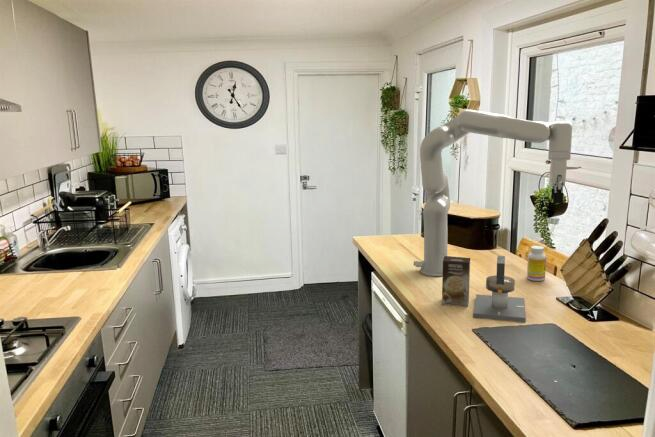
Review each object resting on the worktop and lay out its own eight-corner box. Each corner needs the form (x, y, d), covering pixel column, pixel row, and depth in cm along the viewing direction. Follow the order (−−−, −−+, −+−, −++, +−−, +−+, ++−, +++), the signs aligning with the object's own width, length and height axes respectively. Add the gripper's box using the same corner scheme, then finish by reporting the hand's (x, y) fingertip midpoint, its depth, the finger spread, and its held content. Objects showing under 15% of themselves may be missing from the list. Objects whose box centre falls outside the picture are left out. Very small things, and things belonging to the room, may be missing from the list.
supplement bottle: (546, 281, 199) (548, 249, 196) (528, 281, 200) (529, 249, 198) (543, 276, 205) (544, 245, 203) (525, 275, 207) (526, 244, 204)
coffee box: (441, 305, 180) (441, 260, 177) (443, 298, 186) (443, 255, 183) (468, 307, 177) (469, 262, 174) (469, 300, 183) (470, 257, 180)
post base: (473, 317, 168) (473, 296, 167) (476, 298, 185) (476, 278, 183) (525, 322, 163) (526, 300, 162) (524, 302, 180) (524, 282, 178)
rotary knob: (486, 282, 178) (487, 254, 176) (514, 284, 175) (515, 256, 173) (485, 294, 167) (485, 264, 165) (514, 296, 164) (515, 266, 162)
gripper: (546, 153, 200) (544, 197, 204) (550, 157, 184) (547, 204, 188) (568, 153, 198) (565, 197, 201) (573, 157, 182) (570, 205, 185)
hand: (556, 201), depth 195 cm, fingers open, 9 cm apart
